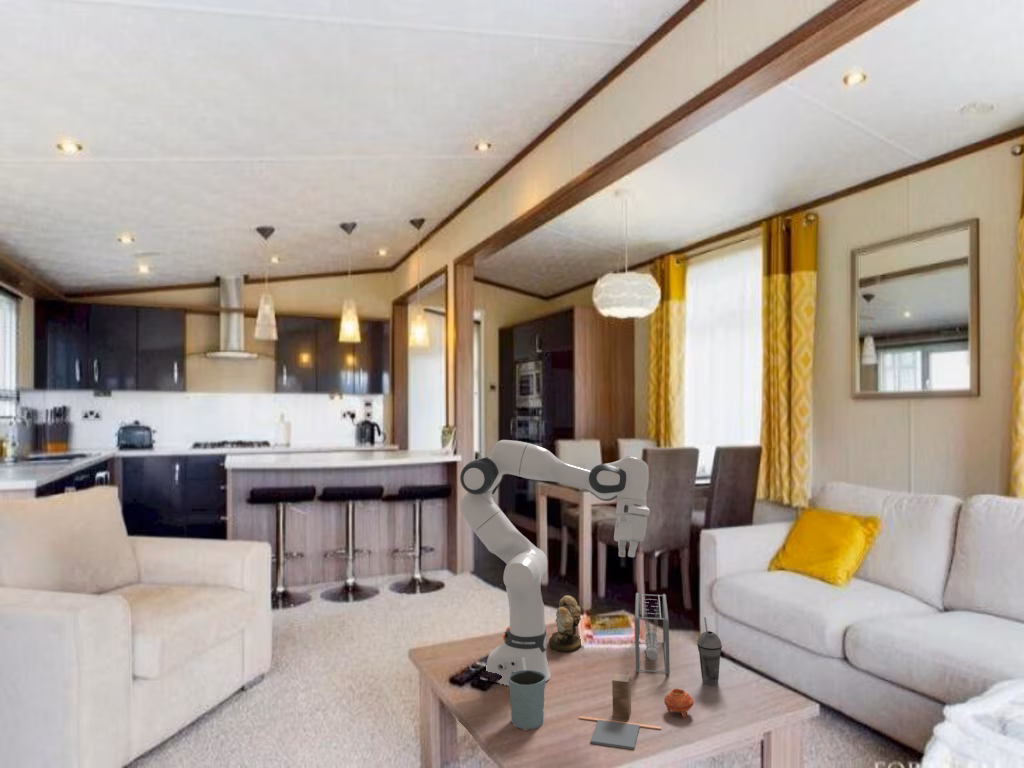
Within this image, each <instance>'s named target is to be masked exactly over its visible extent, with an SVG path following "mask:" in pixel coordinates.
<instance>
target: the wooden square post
mask: <svg viewBox="0 0 1024 768" xmlns="http://www.w3.org/2000/svg"><path fill="white" fill-rule="evenodd" d="M611 682H612V683H611V687H612V688H611V689H612V690H611V691H612V692H611V693H612V694H611V695H612V696H611V697H612V718H617V719H626V720H630V717H631V713H632V696H631V694H632V692H631V691H632V689H631V687H632V686H631V685H632V684H631V683H632V681H631V675H628V674H621V673H620V674H619V673H614V675H613V677H612V679H611Z"/></svg>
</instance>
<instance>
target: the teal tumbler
mask: <svg viewBox="0 0 1024 768" xmlns="http://www.w3.org/2000/svg"><path fill="white" fill-rule="evenodd" d="M508 680H509V686H508V688H509V694H510V695H509V701H510V702H509V703H510V713H511V714H510V715H511V716H510V717H511V723H513V724H514V725H515V726H516V727H515V726H514V725H513V724H512V725H513V726H514V727H515V728H517V727H518V729H519V728H521V729H520V730H524V729H531V730H535V729H538V728H539V727H541V726H543V723H544V716H545V714H544V713H545V712H544V707H545V689H546V682H545V680H546V677H545V675H544V674H543V673H541V672H538V671H533V670H521V671H517V672H514V673H512V674H510V675H509V677H508Z"/></svg>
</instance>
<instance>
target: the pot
mask: <svg viewBox="0 0 1024 768" xmlns="http://www.w3.org/2000/svg"><path fill="white" fill-rule="evenodd" d="M663 701H664V702H663V703H664V704H665V706H666V710H667V712H668V713H671V711H672V712H675V713H678V714H679V713H680V714H681V716H682V718H683V719H685V718H686V714H687V711H689V710H691V708H692V707H693V706H694V703H695V702H694V699H693V697H692V696H691V695H690V694H689V693H688V692H686V691H685V690H684V689H680V688H674V689H672V690H671V691H670V692H669V693H667V694H666V695H665V696H664V700H663Z"/></svg>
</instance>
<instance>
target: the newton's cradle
mask: <svg viewBox="0 0 1024 768" xmlns="http://www.w3.org/2000/svg"><path fill="white" fill-rule="evenodd" d="M640 596H642V597H641V616H640ZM644 596H646V597H647V596H648V597H651V596H652V597H657V598H658V599H657V600H658V601H657V602H656V606H655V605H652V607H656V608H655V613H652V612H647V611H648V609H647V606H646V603H647V604H648V602H646V601H645V598H644ZM660 597H662V610H661V598H660ZM648 600H650V601H651V600H653V601H655V598H654V599H651V598H647V601H648ZM634 606H635V607H634V635H635V636H634V643H635V649H634V650H635V652H634V653H635V672H636V673H640V672H647V673H649V672H651V673H664V674H666V675H670V673H671V669H670V666H671V665H670V628H669V627H670V620H669V612H668V603H667V595H666V594H665V593H663V594H647V593H646V594H643V593H642V594H641V593H639V592H636V593H635V603H634ZM661 611H662V612H661ZM648 614H649V615H650V614H651V615H654V617H648ZM640 619H643V620H644V624H645V627H646V631H647V632H646V635H645V639H646V640H645V642H646V643H645V646H646V651H645V653H646V654H645V655H646V656H647V658H648V659H649V660H653V661H654V660H656V659H657V658H658V656H659V653H658V651H659V650H658V649H659V647H658V644H663V653H664V665H665V667H664V668H665V671H663V670H650V669H640V662H641V661H640V659H641V658H640V657H641V655H640V653H641V651H640V650H641V646H640V647H639V635H640V636H641V631H640V626H641V625H640ZM649 620H653V622H654V623H653V625H652V630H651V627H650V622H649ZM658 620H661V621H662V634H663V635H662V638H663V639H662V640H663V641H662V642H661V641H658V635H657V630H658V629H657V628H658V624H659V621H658Z"/></svg>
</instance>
